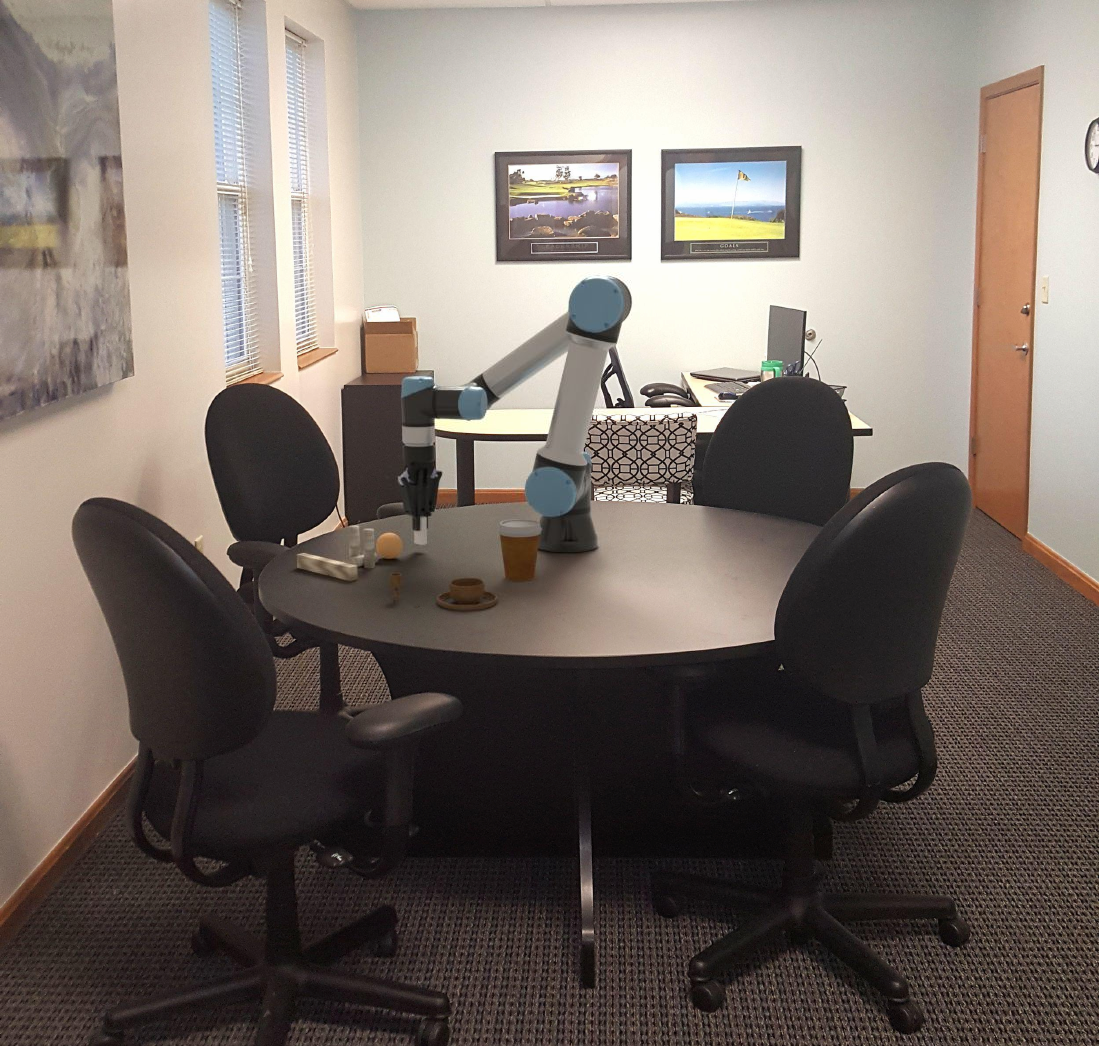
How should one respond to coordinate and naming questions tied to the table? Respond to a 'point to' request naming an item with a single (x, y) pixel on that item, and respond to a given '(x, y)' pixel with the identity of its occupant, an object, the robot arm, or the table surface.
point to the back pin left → (369, 548)
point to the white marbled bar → (327, 566)
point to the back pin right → (354, 541)
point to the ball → (389, 545)
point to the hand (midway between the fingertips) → (420, 543)
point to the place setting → (456, 593)
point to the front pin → (358, 560)
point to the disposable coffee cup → (519, 548)
